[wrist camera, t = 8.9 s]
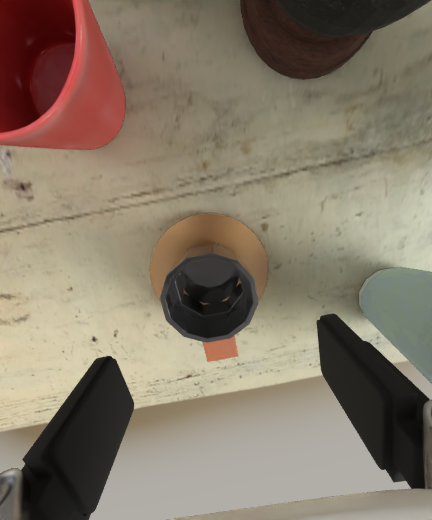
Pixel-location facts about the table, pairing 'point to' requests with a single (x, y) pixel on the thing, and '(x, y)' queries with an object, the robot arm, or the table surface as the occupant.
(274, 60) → the ball on stand
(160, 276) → the disc
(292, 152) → the table surface
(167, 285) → the hollow tube
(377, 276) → the disposable coffee cup
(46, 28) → the flower pot
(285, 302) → the table surface
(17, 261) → the table surface
